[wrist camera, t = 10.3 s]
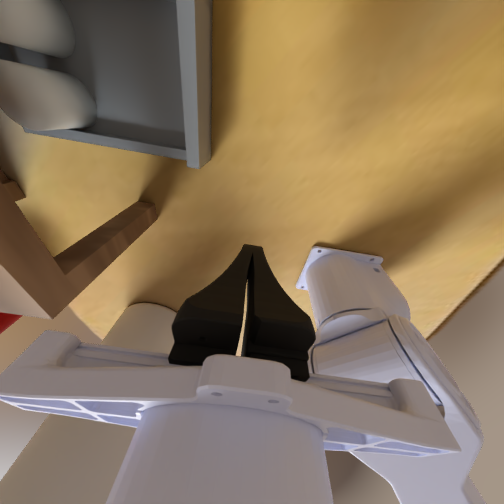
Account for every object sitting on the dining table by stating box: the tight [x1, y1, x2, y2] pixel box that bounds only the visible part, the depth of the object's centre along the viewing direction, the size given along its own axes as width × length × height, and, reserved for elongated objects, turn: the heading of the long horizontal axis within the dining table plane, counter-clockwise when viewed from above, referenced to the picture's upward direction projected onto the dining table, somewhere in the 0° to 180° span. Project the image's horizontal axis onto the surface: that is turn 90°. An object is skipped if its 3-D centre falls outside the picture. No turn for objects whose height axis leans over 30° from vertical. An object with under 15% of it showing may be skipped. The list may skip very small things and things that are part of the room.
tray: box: [0, 0, 212, 169], centre depth 13 cm, size 16×10×5 cm, turn 82°
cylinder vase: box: [0, 303, 177, 504], centre depth 27 cm, size 12×12×25 cm
